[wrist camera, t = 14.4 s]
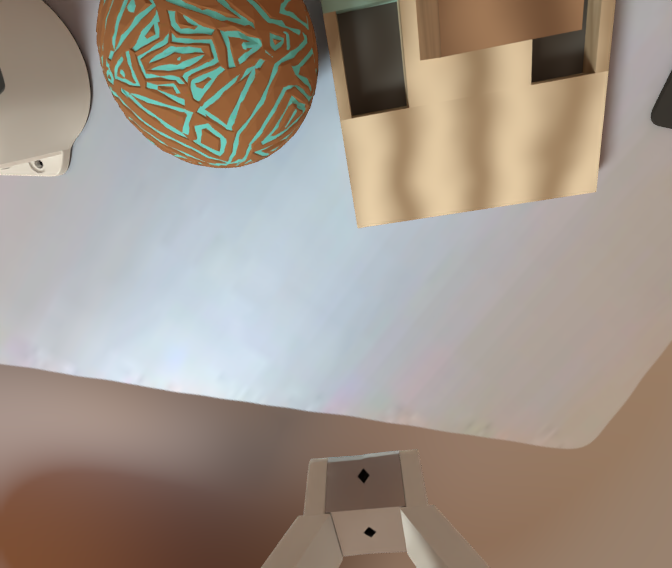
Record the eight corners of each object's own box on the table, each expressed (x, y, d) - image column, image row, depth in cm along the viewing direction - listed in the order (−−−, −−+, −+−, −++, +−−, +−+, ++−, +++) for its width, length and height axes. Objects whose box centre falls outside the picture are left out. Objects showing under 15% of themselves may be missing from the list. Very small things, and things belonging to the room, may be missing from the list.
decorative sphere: (305, -63, 33) (268, -154, 19) (338, 135, 39) (328, 168, 26) (130, -20, 35) (-14, -76, 21) (189, 162, 41) (109, 206, 28)
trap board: (357, 220, 43) (357, 228, 41) (310, -73, 32) (307, -83, 30) (583, 185, 40) (596, 191, 38) (612, -147, 30) (632, -165, 27)
